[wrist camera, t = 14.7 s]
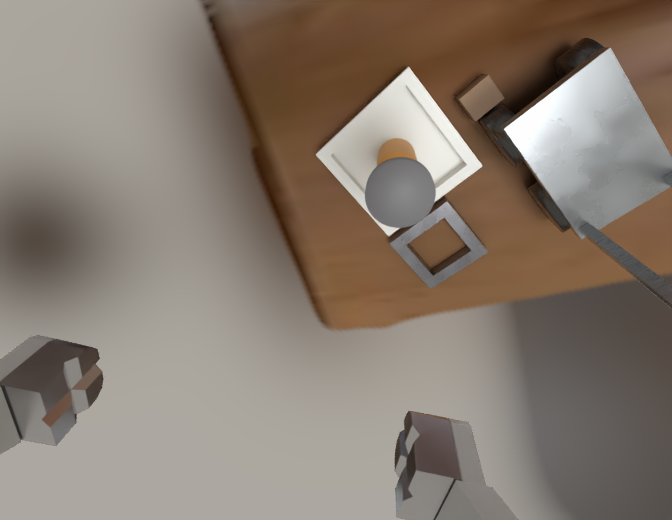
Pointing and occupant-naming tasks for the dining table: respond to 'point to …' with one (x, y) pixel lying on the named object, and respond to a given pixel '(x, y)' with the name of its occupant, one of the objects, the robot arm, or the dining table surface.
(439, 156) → the tray
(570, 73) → the trolley
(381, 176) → the pin
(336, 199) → the dining table surface
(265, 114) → the dining table surface
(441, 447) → the robot arm
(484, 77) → the block
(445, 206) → the socket
